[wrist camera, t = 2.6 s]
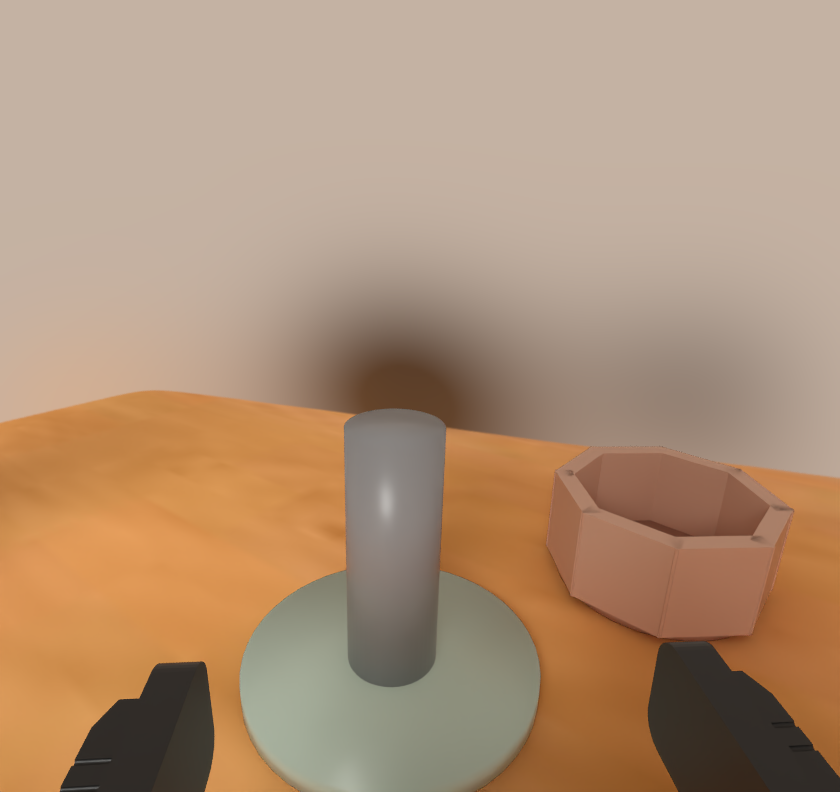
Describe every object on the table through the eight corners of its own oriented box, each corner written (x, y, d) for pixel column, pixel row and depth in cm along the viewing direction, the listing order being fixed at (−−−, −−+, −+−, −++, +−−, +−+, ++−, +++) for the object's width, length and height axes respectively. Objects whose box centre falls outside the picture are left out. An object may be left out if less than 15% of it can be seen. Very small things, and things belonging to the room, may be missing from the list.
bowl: (591, 648, 26) (606, 551, 24) (531, 522, 36) (539, 446, 34) (813, 640, 27) (842, 546, 25) (695, 519, 37) (711, 446, 35)
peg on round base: (205, 827, 18) (165, 518, 15) (267, 584, 30) (253, 375, 26) (580, 804, 20) (628, 511, 16) (503, 578, 31) (520, 375, 27)
